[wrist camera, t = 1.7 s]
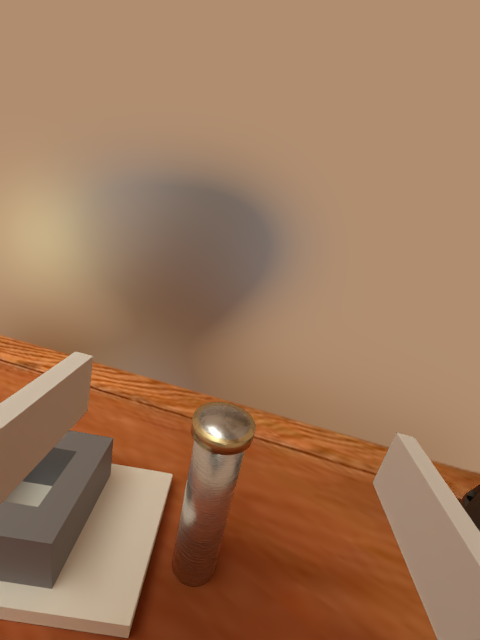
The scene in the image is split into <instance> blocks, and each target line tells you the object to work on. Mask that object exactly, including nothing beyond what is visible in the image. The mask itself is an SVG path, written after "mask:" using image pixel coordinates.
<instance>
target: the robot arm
mask: <svg viewBox="0 0 480 640" xmlns="http://www.w3.org/2000/svg"><path fill="white" fill-rule="evenodd" d="M92 363H93V356H91V355H87V354H83V353H79V352H74V353H73V354H71V355H70V356H68V357H67V358H65V359H64V360H63V361H61V362H60V363H58V364H57V365H55V366H54V367H52V368H51V369H49V370H48V371H47V372H45V373H44V374H42V375H41V376H39V377H38V378H36V379H35V380H34V381H32V382H31V383H29V384H28V385H26V386H25V387H23V388H22V389H20V390H19V391H18V392H16V393H15V394H13V395H12V396H10V397H9V398H7V399H6V400H5V401H3V402H2V403H0V504H1V503H2V502H3V501H4V500H5V499H6V498H7V497H8V496H9V494H10V493H11V492H12V491H13V490H14V489H15V488H16V487H17V486H18V485H19V484H20V483H21V482H22V481H23V480H24V478H25V477H26V476H27V475H28V474H29V473H30V472H31V471H32V470H33V469H34V468H35V467H36V466H37V465H38V463H39V462H40V461H41V460H42V459H43V458H44V457H45V456H46V455H47V454H48V453H49V452H50V451H51V450H52V448H53V447H54V446H55V445H56V444H57V443H58V442H59V441H60V440H61V439H62V438H63V437H64V436H65V435H66V433H67V432H68V431H69V430H70V429H71V428H72V427H73V426H74V425H75V424H76V423H77V422H78V421H79V420H80V418H81V417H82V416H83V415H84V414H85V413H86V412H87V411H88V401H89V391H90V382H91V372H92ZM373 485H374V487H375V490H376V492H377V494H378V497H379V499H380V502H381V504H382V506H383V509H384V511H385V514H386V516H387V519H388V521H389V523H390V526H391V528H392V531H393V533H394V536H395V538H396V540H397V543H398V545H399V548H400V550H401V552H402V555H403V557H404V560H405V562H406V565H407V567H408V569H409V572H410V574H411V577H412V579H413V581H414V584H415V586H416V589H417V591H418V594H419V596H420V598H421V601H422V603H423V606H424V608H425V611H426V613H427V615H428V618H429V620H430V623H431V625H432V627H433V630H434V632H435V635H436V637H437V640H480V485H478V486H477V487H475V488H474V489H473V490H471V491H469V492H468V493H466V494H465V495H464V497H463V498H462V500H461V502H460V503H459V501H458V500H457V498H456V497H455V495H454V494H453V492H452V491H451V490H450V488H449V487H448V485H447V484H446V482H445V481H444V479H443V478H442V477H441V475H440V474H439V472H438V471H437V469H436V468H435V466H434V465H433V464H432V462H431V461H430V459H429V458H428V456H427V455H426V453H425V452H424V451H423V449H422V448H421V446H420V445H419V444H418V442H417V441H416V439H415V438H414V437H412V436H408V435H404V434H401V433H396V434H395V437H394V439H393V441H392V443H391V445H390V447H389V449H388V451H387V454H386V456H385V458H384V460H383V462H382V464H381V466H380V468H379V471H378V473H377V475H376V477H375V479H374V481H373Z"/></svg>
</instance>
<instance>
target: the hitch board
mask: <svg viewBox="0 0 480 640" xmlns="http://www.w3.org/2000/svg"><path fill="white" fill-rule="evenodd" d="M112 449H113V438H110V437H104V436H98V435H93V434H87V433H81V432H75V431H70V430H69V431H68V432H67V433H66V435H65V436H64V437H63V438H62V439H61V440H60V441H59V442H58V443H57V444H56V445H55V446H54V447H53V448H52V450H51V451H50V452H49V453H48V454H47V455H46V456H45V457H44V458H43V459H42V460H41V461H40V462H39V463H38V465H37V466H36V467H35V468H34V469H33V470H32V471H31V472H30V473H29V474H28V475H27V476H26V477H25V478H24V480H23V481H22V482H21V483H20V484H19V485H18V486H17V487H16V488H15V489H14V490H13V491H12V492H11V493H10V494H9V496H8V497H7V498H6V499H5V500H4V501H3V502H2V503H1V504H0V619H3V620H9V621H16V622H23V623H29V624H36V625H43V626H50V627H56V628H63V629H70V630H76V631H83V632H90V633H97V634H103V635H110V636H117V637H123V638H128V637H129V633H130V630H131V626H132V623H133V619H134V615H135V612H136V608H137V605H138V601H139V598H140V594H141V590H142V587H143V583H144V580H145V576H146V572H147V569H148V565H149V562H150V558H151V554H152V551H153V547H154V544H155V540H156V537H157V533H158V529H159V526H160V522H161V519H162V515H163V511H164V508H165V504H166V501H167V497H168V493H169V490H170V486H171V482H172V476H173V474H170V473H164V472H158V471H152V470H146V469H140V468H135V467H129V466H123V465H117V464H111V462H112Z"/></svg>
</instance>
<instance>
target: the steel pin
mask: <svg viewBox="0 0 480 640" xmlns="http://www.w3.org/2000/svg"><path fill="white" fill-rule="evenodd" d="M255 427H256V426H255V422H254V420H253V418H252V416H251V415H250V414H249V413H248V412H247V411H245V410H244V409H242V408H241V407H239V406H236V405H234V404H230V403H225V402H211V403H207V404H204V405H202V406H200V407H199V408H198V409H197V410H196V411H195V413H194V415H193V420H192V426H191V433H192V436H193V438H194V444H193V450H192V455H191V461H190V466H189V472H188V477H187V483H186V489H185V494H184V500H183V505H182V511H181V516H180V522H179V527H178V533H177V538H176V544H175V549H174V555H173V561H172V567H173V571H174V574H175V576H176V577H177V579H178V580H179V581H180V582H181V583H183V584H185V585H187V586H193V587H195V586H200V585H203V584H204V583H206V582H207V581H208V580H209V579H210V578H211V577H212V575H213V573H214V570H215V566H216V562H217V558H218V554H219V550H220V546H221V542H222V538H223V534H224V530H225V526H226V522H227V518H228V514H229V510H230V506H231V502H232V499H233V495H234V491H235V487H236V483H237V479H238V475H239V471H240V467H241V463H242V459H243V455H244V451H245V450H247V449H248V448H249V447H250V445H251V443H252V440H253V437H254V433H255Z"/></svg>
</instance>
